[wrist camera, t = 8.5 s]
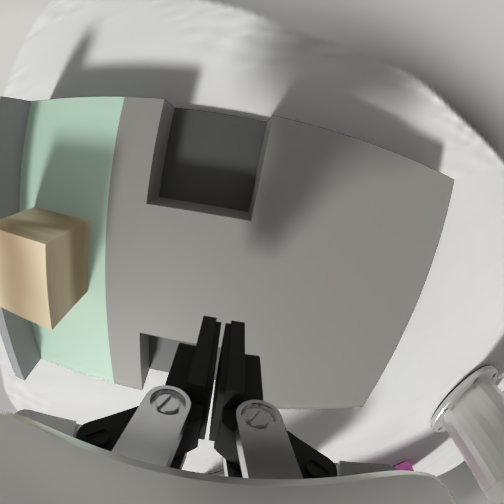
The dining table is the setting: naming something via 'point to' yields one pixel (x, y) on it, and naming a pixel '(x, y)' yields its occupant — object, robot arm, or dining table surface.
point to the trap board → (223, 241)
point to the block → (43, 264)
